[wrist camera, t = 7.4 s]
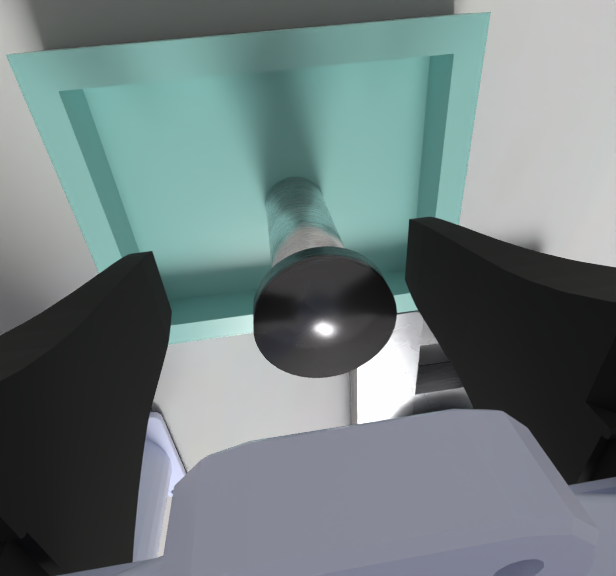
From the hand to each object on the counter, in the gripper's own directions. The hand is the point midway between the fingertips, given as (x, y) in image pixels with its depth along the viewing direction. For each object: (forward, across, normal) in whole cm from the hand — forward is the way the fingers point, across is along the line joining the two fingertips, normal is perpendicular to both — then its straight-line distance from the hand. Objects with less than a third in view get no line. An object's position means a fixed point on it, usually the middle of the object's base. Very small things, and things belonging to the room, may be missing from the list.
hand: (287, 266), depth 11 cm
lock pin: (+6, -1, 0) cm, 6 cm away
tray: (+6, 0, 0) cm, 6 cm away
